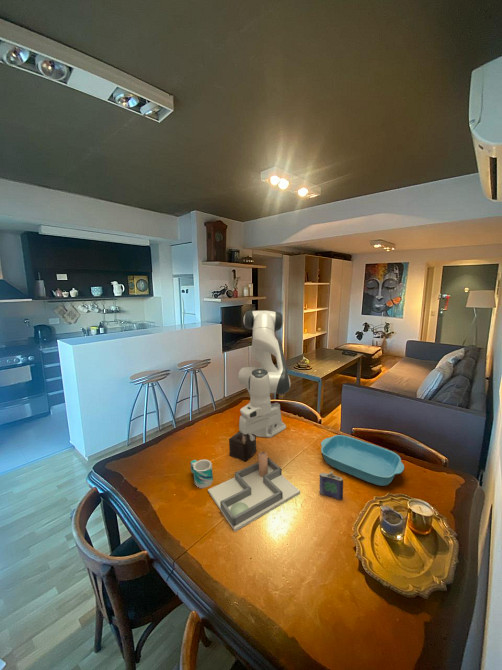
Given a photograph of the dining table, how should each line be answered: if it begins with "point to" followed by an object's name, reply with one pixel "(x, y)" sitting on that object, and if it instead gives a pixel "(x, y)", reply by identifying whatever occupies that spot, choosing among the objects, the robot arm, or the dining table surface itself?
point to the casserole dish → (361, 459)
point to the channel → (253, 493)
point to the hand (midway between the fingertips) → (261, 436)
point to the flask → (331, 486)
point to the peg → (263, 464)
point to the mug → (202, 473)
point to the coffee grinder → (242, 446)
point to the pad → (238, 508)
